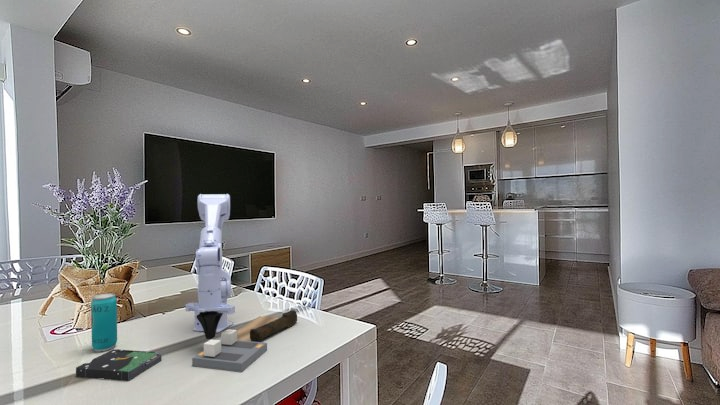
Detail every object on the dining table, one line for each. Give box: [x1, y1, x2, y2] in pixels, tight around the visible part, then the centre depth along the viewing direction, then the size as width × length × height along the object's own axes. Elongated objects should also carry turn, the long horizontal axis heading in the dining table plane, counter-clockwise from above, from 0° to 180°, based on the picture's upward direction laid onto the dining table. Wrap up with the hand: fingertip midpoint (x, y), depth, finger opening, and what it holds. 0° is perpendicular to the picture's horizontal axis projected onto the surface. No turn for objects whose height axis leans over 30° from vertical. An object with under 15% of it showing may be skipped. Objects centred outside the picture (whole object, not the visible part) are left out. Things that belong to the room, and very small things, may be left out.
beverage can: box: [90, 292, 118, 353], centre depth 95 cm, size 6×6×15 cm
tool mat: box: [236, 315, 280, 341], centre depth 107 cm, size 9×23×1 cm, turn 167°
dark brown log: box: [250, 309, 298, 342], centre depth 105 cm, size 19×4×5 cm, turn 147°
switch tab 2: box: [220, 328, 238, 345], centre depth 92 cm, size 3×3×3 cm
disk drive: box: [75, 348, 162, 382], centre depth 83 cm, size 10×3×15 cm
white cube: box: [203, 338, 221, 357], centre depth 85 cm, size 3×3×3 cm
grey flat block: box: [191, 340, 268, 373], centre depth 88 cm, size 14×12×2 cm
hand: (210, 337), depth 93 cm, fingers closed
